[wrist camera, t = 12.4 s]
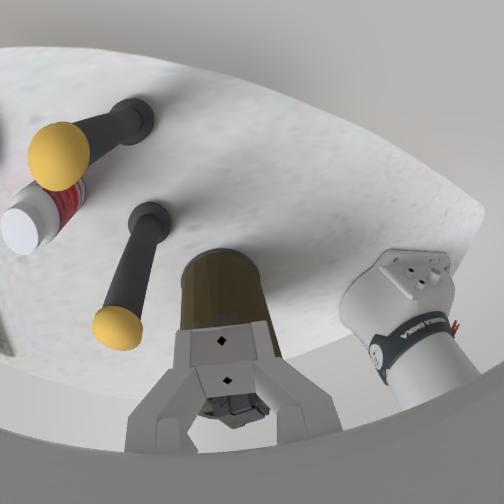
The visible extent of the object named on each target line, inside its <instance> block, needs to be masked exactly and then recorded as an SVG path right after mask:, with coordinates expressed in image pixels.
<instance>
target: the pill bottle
mask: <svg viewBox="0 0 504 504" xmlns="http://www.w3.org/2000/svg"><path fill="white" fill-rule="evenodd" d="M84 197H85V189H84V185H83V182H82V180H81V178H80V179H79V180H78V181H77V182H76V183H74V184H73V185H72V186H71V187H69V188H67V189H65V190H62V191H51V190H47V189H45V188H43V187H42V186H41V185H39V184H38V183H37V182H36V180H35V181H33V182H32V183H30V184H29V185H28V186H26V187H25V188H23V189H22V190H21V191H19V192H18V193H17V194H16V196H15V197H14V198H13V200H12V203H11V206H10V208H9V209H8V210H7V211H6V212H5V213H4V214H3V216H2V219H1V231H2V235H3V238H4V240H5V242H6V243H7V245H8V246H9V247H10V248H11V249H12V250H13V251H15V252H16V253H19V254H22V255H28V254H31V253H32V252H34V251H35V250H36V248H37V247H38V246H43V245H46V244H48V243H49V242H51V241H52V240H53V239H54V238H55V237H56V235H57V234H58V233H59V232H60V231H61V229H62V228H63V227H64V226H65V225H66V223H67V222H68V221H69V220H70V219H71V218H72V217H73V215H74V214H75V213H76V212H77V211H78V210H79V209H80V207H81V206H82V204H83V201H84Z"/></svg>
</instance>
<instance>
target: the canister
mask: <svg viewBox="0 0 504 504" xmlns="http://www.w3.org/2000/svg"><path fill="white" fill-rule="evenodd" d="M181 288H182V301H181V322H180V330H192V329H201V328H213V327H222V326H229V325H237V324H244V323H251V322H258V321H264V320H265V321H266V322H267V325H268V329H269V333H270V337H271V342H272V346H273V350H274V354H275V357H281V358H282V355H281V352H280V348H279V345H278V341H277V338H276V335H275V331H274V328H273V325H272V321H271V318H270V314H269V311H268V308H267V304H266V301H265V297H264V294H263V291H262V287H261V284H260V276H259V272H258V270H257V268H256V266H255V265H254V263H253V262H252V261H251V260H250V259H249V258H248V257H246V256H245V255H243V254H242V253H240V252H237V251H233V250H227V249H215V250H211V251H207V252H205V253H202V254H200V255H198V256H196V257H195V258H194V259H192V260H191V261H190V262H189V263H188V265H187V266H186V267H185V269H184V271H183V274H182V277H181ZM178 330H179V329H178ZM282 359H283V358H282ZM269 410H271V409H270V408H269V407H268V406H267V405H266V404H265V402H264V401H263V400H262V399H261V398H260V397H259V396H258V395H257V394H256V393H247V394H237V395H228V396H220V397H211V398H206V401H205V403H204V405H203V406H202V408H201V410H200V412H199V413H198V415H199V416H202V417H206V418H209V419H218V420H220V421H221V422H223V423H224V424H226V425H227V426H229V427H230V428H231V429H235V428H239V427H242V426H245V424H247V423H250V422H254V421H257V420H260V419H263V418H264V417H265V415H269ZM262 413H263V415H262Z"/></svg>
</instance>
